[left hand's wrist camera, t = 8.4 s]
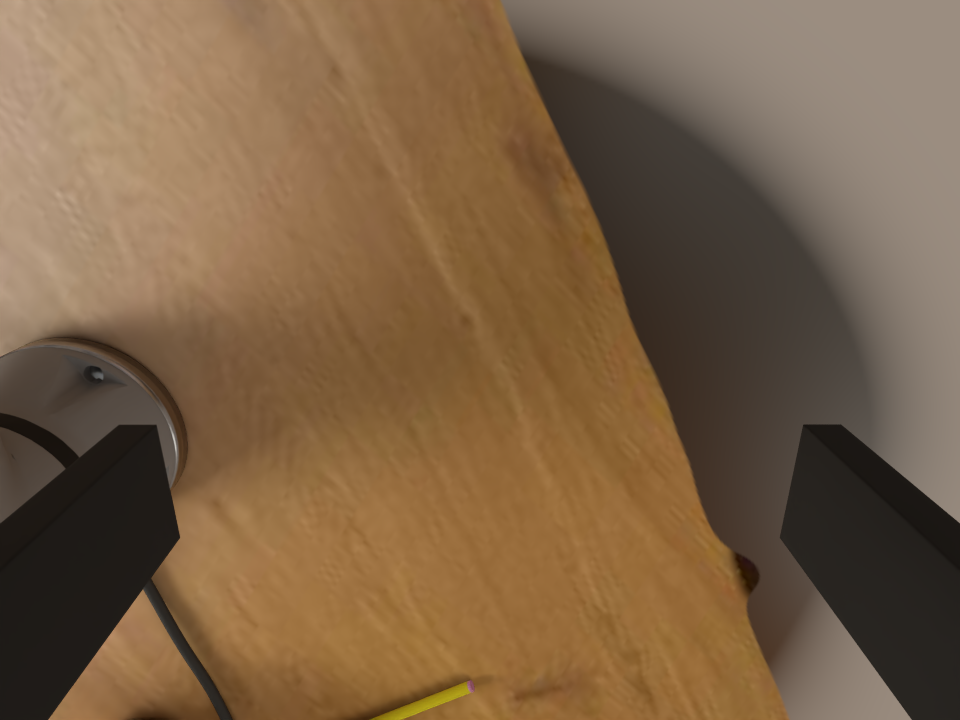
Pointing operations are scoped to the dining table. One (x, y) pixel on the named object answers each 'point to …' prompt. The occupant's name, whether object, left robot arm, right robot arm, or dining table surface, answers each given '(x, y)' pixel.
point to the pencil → (428, 702)
